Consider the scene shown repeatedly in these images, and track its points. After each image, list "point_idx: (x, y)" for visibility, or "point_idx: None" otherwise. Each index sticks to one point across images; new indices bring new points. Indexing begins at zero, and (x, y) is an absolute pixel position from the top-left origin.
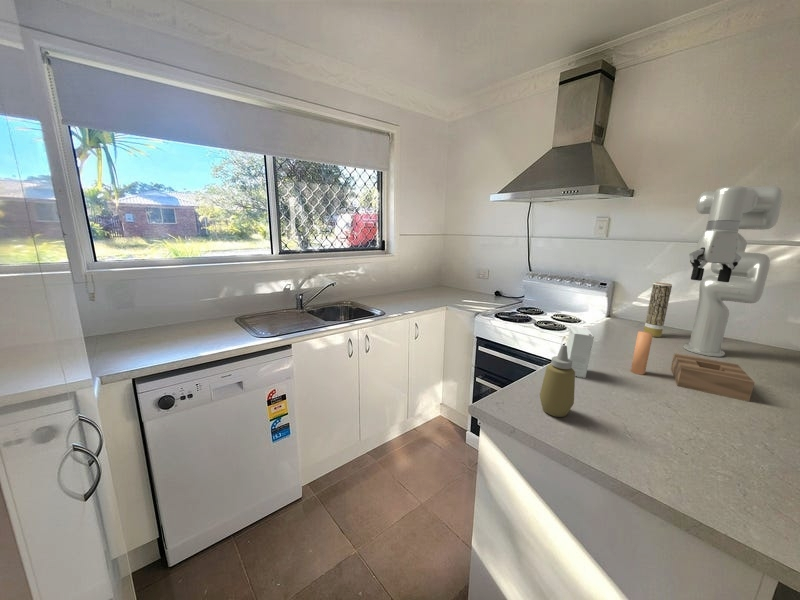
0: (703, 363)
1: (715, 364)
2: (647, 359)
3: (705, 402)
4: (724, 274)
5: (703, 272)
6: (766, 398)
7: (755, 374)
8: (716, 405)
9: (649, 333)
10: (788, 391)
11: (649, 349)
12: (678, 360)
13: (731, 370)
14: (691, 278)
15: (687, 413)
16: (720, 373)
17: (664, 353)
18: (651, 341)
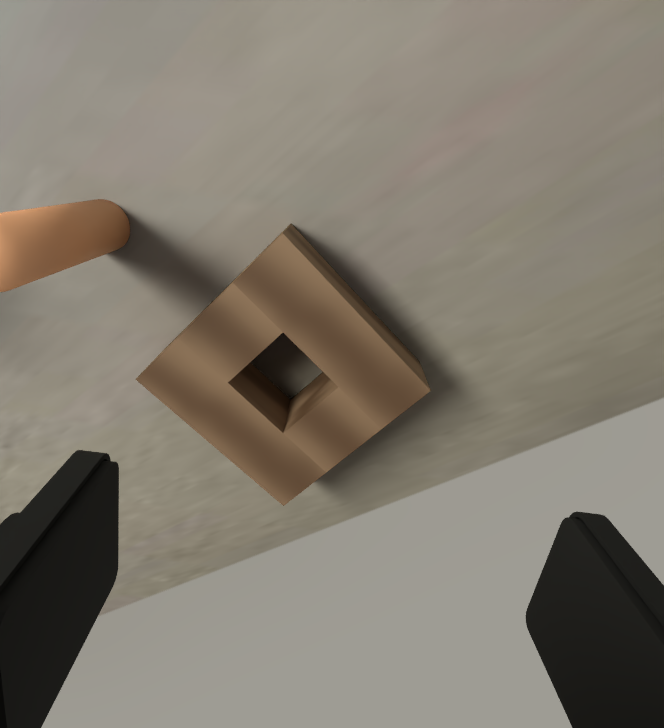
0: (302, 348)
1: (329, 375)
2: (85, 261)
3: (146, 446)
4: (597, 679)
5: (51, 699)
6: (373, 462)
7: (605, 330)
8: (162, 463)
9: (10, 265)
10: (516, 445)
11: (58, 271)
12: (203, 315)
13: (322, 428)
14: (76, 463)
15: (32, 476)
16: (242, 440)
17: (489, 27)
18: (40, 277)
